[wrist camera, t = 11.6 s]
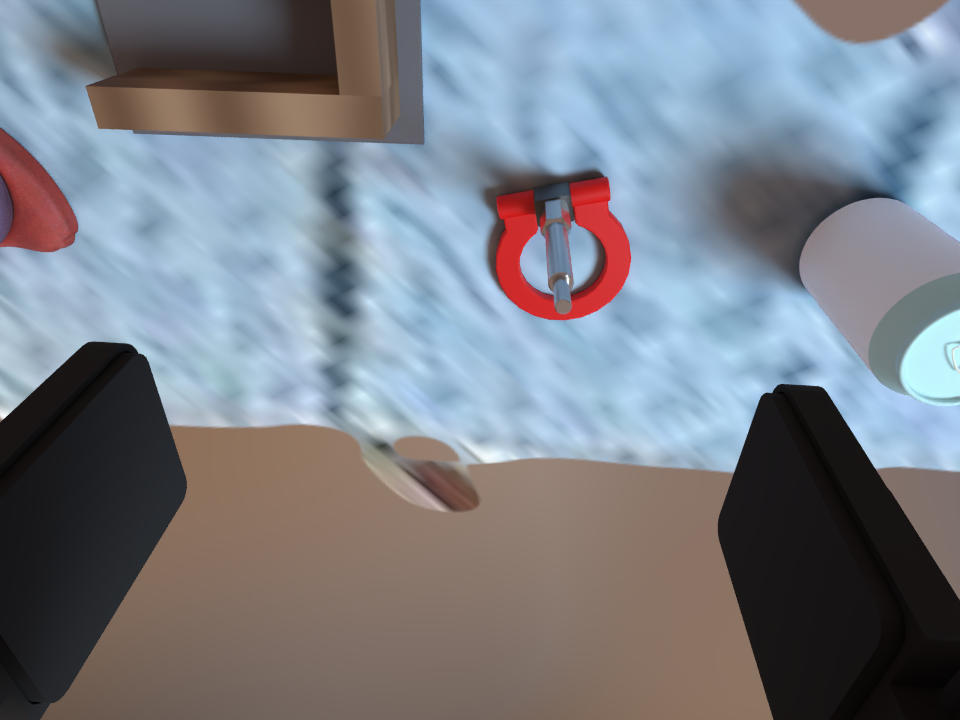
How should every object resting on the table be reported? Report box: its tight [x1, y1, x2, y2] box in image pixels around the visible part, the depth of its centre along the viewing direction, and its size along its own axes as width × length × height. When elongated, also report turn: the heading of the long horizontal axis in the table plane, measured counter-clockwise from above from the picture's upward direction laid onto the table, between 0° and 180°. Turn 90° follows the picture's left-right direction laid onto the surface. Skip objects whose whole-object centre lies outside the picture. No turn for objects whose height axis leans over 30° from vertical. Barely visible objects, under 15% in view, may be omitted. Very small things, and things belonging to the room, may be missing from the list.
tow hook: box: [496, 177, 631, 320], centre depth 35 cm, size 8×13×9 cm
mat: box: [97, 0, 424, 144], centre depth 34 cm, size 17×12×1 cm
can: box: [799, 198, 960, 406], centre depth 34 cm, size 7×7×12 cm
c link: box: [86, 0, 400, 139], centre depth 31 cm, size 14×9×5 cm, turn 89°
